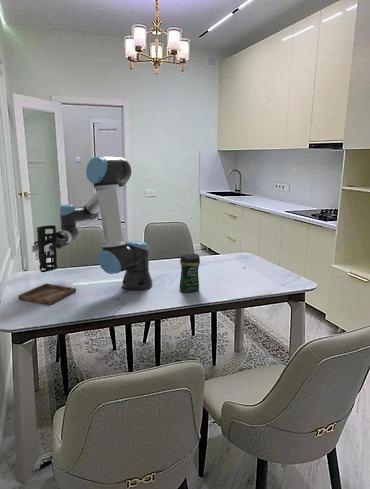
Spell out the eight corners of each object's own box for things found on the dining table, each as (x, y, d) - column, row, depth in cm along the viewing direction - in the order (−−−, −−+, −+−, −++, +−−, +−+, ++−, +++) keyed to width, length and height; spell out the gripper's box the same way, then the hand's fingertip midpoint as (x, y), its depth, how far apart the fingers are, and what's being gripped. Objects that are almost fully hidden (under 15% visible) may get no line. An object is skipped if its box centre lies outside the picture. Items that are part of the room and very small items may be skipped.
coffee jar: (182, 293, 180) (182, 256, 176) (177, 288, 187) (178, 252, 183) (201, 291, 183) (202, 255, 179) (196, 286, 190) (196, 251, 186)
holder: (48, 273, 166) (46, 229, 161) (33, 271, 167) (30, 228, 163) (61, 266, 177) (59, 225, 172) (46, 265, 178) (44, 224, 173)
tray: (75, 292, 180) (75, 288, 180) (50, 305, 164) (50, 301, 163) (46, 287, 186) (45, 283, 186) (18, 299, 170) (18, 295, 170)
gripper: (78, 246, 187) (59, 258, 165) (44, 244, 189) (20, 256, 166) (78, 231, 186) (57, 241, 163) (43, 230, 187) (18, 240, 165)
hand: (38, 249), depth 165 cm, fingers closed on holder, 5 cm apart
